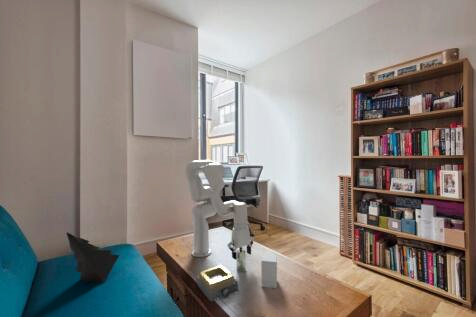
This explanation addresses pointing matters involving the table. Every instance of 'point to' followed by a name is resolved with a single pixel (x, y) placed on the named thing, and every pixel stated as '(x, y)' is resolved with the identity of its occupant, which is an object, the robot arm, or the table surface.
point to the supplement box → (269, 271)
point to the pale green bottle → (241, 259)
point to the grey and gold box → (216, 282)
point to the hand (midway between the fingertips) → (241, 256)
